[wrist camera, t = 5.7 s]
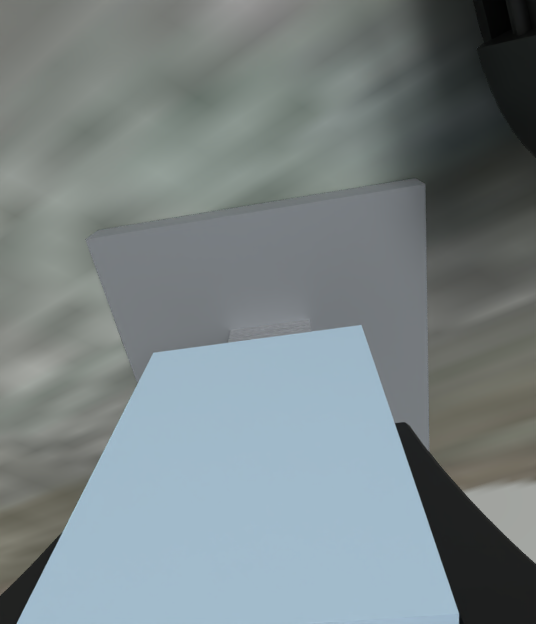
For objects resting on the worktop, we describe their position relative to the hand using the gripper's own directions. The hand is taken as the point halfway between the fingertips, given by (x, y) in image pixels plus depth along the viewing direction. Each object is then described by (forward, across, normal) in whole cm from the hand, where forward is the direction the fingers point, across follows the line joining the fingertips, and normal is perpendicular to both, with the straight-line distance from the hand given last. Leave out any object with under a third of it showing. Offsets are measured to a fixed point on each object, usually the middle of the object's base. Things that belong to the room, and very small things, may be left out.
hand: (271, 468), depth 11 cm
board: (+6, 0, 0) cm, 6 cm away
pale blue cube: (+2, 0, 0) cm, 2 cm away
